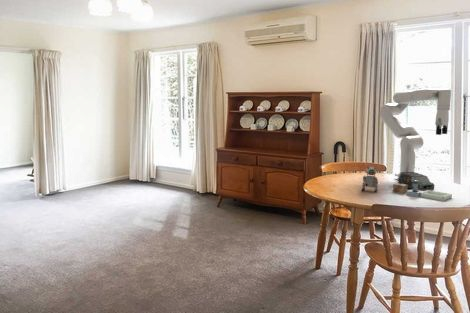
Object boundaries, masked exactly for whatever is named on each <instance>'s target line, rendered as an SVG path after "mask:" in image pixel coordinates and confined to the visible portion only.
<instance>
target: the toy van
mask: <svg viewBox="0 0 470 313" xmlns="http://www.w3.org/2000/svg"><path fill="white" fill-rule="evenodd" d="M399 173H400V172H399ZM413 180H418V181H419V183H418V190H419V191H426V190H431V191H435V183H434V182H431V181H430V179H429V177H428V176H427V175H424V174H422V173H419V172H415V171H414V172H401V173H400V175H399V180H398V182H397V183H399V184H405V185H407V188H410V190H412V189H413V182H412V181H413Z"/></svg>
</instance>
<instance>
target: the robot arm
mask: <svg viewBox="0 0 470 313" xmlns="http://www.w3.org/2000/svg"><path fill="white" fill-rule="evenodd" d="M451 96H452V90H451V89H450V88H421V89H413V90H404V91H403V90H402V91H397V92H395V93H394V94H393V96H392V101H393V102H394V103H385V104H383V105H382V106H381V107H380V109H379V116H380V119H381V121H382V122H383V123H384V125H385V126H386V127H387V128H388V129H389V131H390V132H391V133H392V135H394V137H396V139H397V138H398V139H401V140H400V142H399V147H400V161H399V163H400V166H399V173H398V172H395V173H394V176H395V177H397V178H396V180H397V181H399V175H400V173H401V172H415V168H416V152H415V150H419V149H421V148H422V147H423V146H424V139H423V138H422V136H421V135H420V133H419V132H417V130H416V129H415V127H413V126H411V125H410V124H402V123H401V122H400V121H399V119H398V118H397V117H395V116H398V115H401V114H402V113H403V112H404V110H406V108H407V107H408V106H409V105H410V104H412V103H416V102H419V101H420V102H421V101H437V102H436V104H437V106H436V116H435V122H434V125H435V135H437V136H442V135H447V134H448V128H449V127H448V126H449V119H450V117H449V116H450V115H449V114H450V112H449V111H451V100H452V97H451Z"/></svg>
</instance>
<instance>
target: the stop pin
mask: <svg viewBox="0 0 470 313" xmlns="http://www.w3.org/2000/svg"><path fill="white" fill-rule="evenodd" d="M412 182H413V192H418V183H419V181H418V180H413V181H412Z"/></svg>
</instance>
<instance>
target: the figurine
mask: <svg viewBox="0 0 470 313" xmlns="http://www.w3.org/2000/svg"><path fill="white" fill-rule="evenodd" d="M365 170H366V174H367V175H366V174H364V176H362V183H361V184H362V185H361V192H364V191H365V190H366V188H374V193H377V192H378V191H379V190H378V185H379V181H378V178H377V177H376V175H377V170H376V167H374V166H370V165H368V166H367V167H366V168H365Z"/></svg>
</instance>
